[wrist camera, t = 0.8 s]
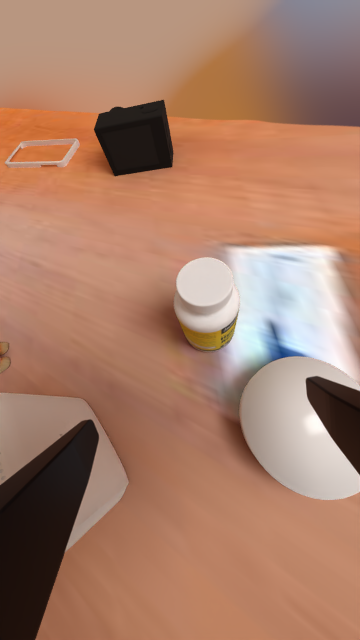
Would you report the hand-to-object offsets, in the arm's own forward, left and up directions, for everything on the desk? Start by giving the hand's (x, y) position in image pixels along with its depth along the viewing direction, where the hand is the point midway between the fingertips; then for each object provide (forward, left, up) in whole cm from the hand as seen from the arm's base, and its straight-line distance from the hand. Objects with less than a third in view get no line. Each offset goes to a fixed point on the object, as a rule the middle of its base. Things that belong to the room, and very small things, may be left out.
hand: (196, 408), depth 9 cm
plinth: (-5, -6, -13) cm, 15 cm away
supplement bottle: (+6, -5, -13) cm, 15 cm away
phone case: (+58, -4, -14) cm, 59 cm away
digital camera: (+38, -17, -13) cm, 43 cm away
